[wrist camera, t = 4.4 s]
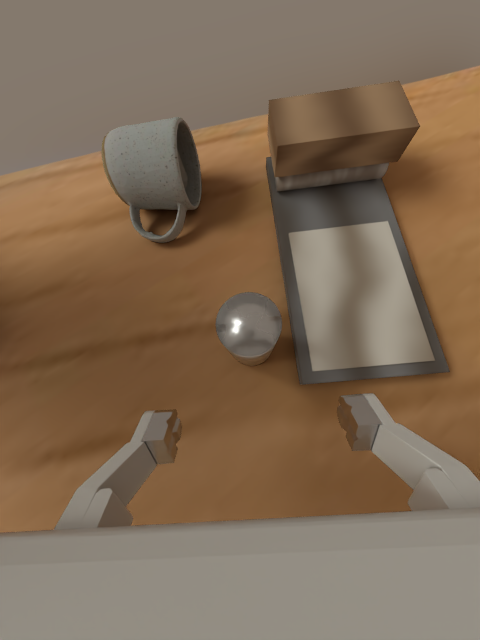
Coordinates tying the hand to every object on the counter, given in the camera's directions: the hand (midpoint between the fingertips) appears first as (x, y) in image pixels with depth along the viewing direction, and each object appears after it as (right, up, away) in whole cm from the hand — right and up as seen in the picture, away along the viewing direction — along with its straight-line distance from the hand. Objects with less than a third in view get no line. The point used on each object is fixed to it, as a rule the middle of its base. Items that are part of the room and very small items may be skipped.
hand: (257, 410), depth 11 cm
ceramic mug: (-9, +18, +16) cm, 26 cm away
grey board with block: (+9, +12, +12) cm, 19 cm away
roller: (0, +2, +10) cm, 10 cm away
